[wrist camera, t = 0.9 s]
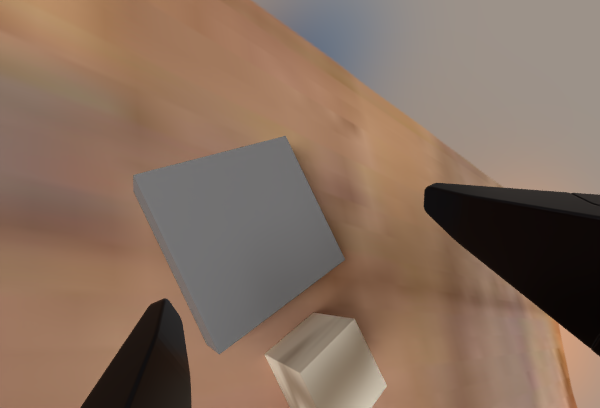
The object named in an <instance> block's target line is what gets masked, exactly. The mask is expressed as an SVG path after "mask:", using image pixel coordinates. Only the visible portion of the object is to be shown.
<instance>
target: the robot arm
mask: <svg viewBox="0 0 600 408" xmlns="http://www.w3.org/2000/svg"><path fill="white" fill-rule="evenodd" d="M424 209H425V211H426V213H427V214H428V215H429V216H430V217H431V218H432V219H434V220H435V221H436V222H437V223H438V224H439V225H440V226H441V227H442V228H443V229H444V230H445V231H446V232H447V233H448V234H449V235H450V236H451V237H452V238H453V239H454V240H456V241H457V242H458V243H459V244H460V245H461V246H463V247H464V248H465V249H466V250H468V251H469V252H470V253H471V254H473V255H474V256H475V257H476V258H478V259H479V260H480V261H481V262H483V263H484V264H485V265H486V266H488V267H489V268H490V269H491V270H493V271H494V272H495V273H496V274H498V275H499V276H500V277H501V278H503V279H504V280H505V281H506V282H508V283H509V284H510V285H511V286H513V287H514V288H515V289H516V290H518V291H519V292H520V293H521V294H523V295H524V296H525V297H526V298H528V299H529V300H530V301H532V302H533V303H534V304H535V305H537V306H538V307H539V308H540V309H542V310H543V311H544V312H545V313H547V314H548V315H549V316H550V317H552V318H553V319H554V320H555V321H557V322H558V323H559V324H560V325H562V326H563V327H564V328H565V329H567V330H568V331H569V332H570V333H572V334H573V335H574V336H576V337H577V338H578V339H579V340H580V341H582V342H583V343H584V344H585V345H587V346H588V347H589V348H591V349H592V350H593V351H594V352H595V353H596V354H597V355H599V356H600V195H594V194H581V193H571V194H570V193H567V192H553V191H539V190H526V189H513V188H499V187H486V186H472V185H459V184H446V183H435V184H432V185H430V186H428V187H426V189H425V193H424ZM81 408H191V382H190V371H189V364H188V357H187V351H186V344H185V337H184V331H183V324H182V320H181V318H180V316H179V314H178V313H177V311H176V310H175V309H174V307H173V306H172V304H171V303H170V301H169V300H168V299H162V300H159V301H157V302H155V303H152V304H151V305H150V306H149V307H148V308H147V310H146V311H145V313H144V314H143V316H142V317H141V319H140V320H139V322H138V323H137V325H136V326H135V328H134V329H133V330H132V332H131V333H130V335H129V336H128V338H127V339H126V341H125V342H124V344H123V345H122V347H121V348H120V350H119V351H118V353H117V354H116V356H115V357H114V359H113V360H112V362H111V363H110V365H109V366H108V368H107V369H106V370H105V372H104V373H103V375H102V376H101V378H100V379H99V381H98V382H97V384H96V385H95V387H94V388H93V390H92V391H91V393H90V394H89V396H88V397H87V399H86V400H85V402H84V403H83V405H82V406H81Z"/></svg>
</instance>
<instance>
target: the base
mask: <svg viewBox="0 0 600 408" xmlns="http://www.w3.org/2000/svg"><path fill="white" fill-rule="evenodd" d="M133 185H134V193H135V195H136V197H137V199H138V201H139V204H140V206H141V208H142V210H143V212H144V214H145V216H146V218H147V220H148V222H149V224H150V227H151V229H152V231H153V233H154V235H155V237H156V239H157V241H158V243H159V245H160V247H161V250H162V252H163V254H164V256H165V258H166V260H167V262H168V264H169V266H170V268H171V270H172V273H173V275H174V277H175V279H176V281H177V283H178V285H179V287H180V289H181V291H182V293H183V296H184V298H185V300H186V302H187V304H188V306H189V308H190V310H191V312H192V314H193V316H194V319H195V321H196V323H197V325H198V327H199V329H200V331H201V333H202V335H203V337H204V339H205V342H206V344H207V345H208V346H210V347H211V348H212V349H213V350H214V351H216V352H217V353H218V354H220V353H222V352H223V351H224V350H226V349H227V348H228V347H230V346H231V345H232V344H234V343H235V342H236V341H238V340H239V339H240V338H242V337H243V336H244V335H246V334H247V333H248V332H250V331H251V330H252V329H254V328H255V327H256V326H258V325H259V324H260V323H262V322H263V321H264V320H266V319H267V318H268V317H270V316H271V315H272V314H274V313H275V312H276V311H278V310H279V309H280V308H282V307H283V306H284V305H286V304H287V303H288V302H290V301H291V300H292V299H294V298H295V297H296V296H298V295H299V294H300V293H302V292H303V291H304V290H305V289H307V288H308V287H309V286H311V285H312V284H313V283H315V282H316V281H317V280H319V279H320V278H321V277H323V276H324V275H325V274H327V273H328V272H329V271H331V270H332V269H333V268H335V267H336V266H337V265H339V264H340V263H341V262H343V261H344V260H345V258H344V256H343V254H342V252H341V250H340V248H339V246H338V244H337V242H336V240H335V238H334V236H333V233H332V231H331V229H330V227H329V225H328V223H327V221H326V219H325V217H324V215H323V213H322V211H321V209H320V206H319V204H318V202H317V200H316V198H315V196H314V194H313V192H312V190H311V188H310V186H309V184H308V181H307V179H306V177H305V175H304V173H303V171H302V169H301V167H300V165H299V163H298V161H297V159H296V157H295V154H294V152H293V150H292V148H291V146H290V144H289V142H288V140H287V138H286V136H283V137H280V138H276V139H272V140H268V141H264V142H260V143H256V144H252V145H249V146H245V147H241V148H237V149H233V150H229V151H225V152H221V153H217V154H214V155H210V156H206V157H202V158H198V159H194V160H190V161H186V162H183V163H179V164H175V165H171V166H167V167H163V168H159V169H155V170H151V171H148V172H144V173H140V174H136V175H133Z"/></svg>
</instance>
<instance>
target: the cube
mask: <svg viewBox="0 0 600 408" xmlns="http://www.w3.org/2000/svg"><path fill="white" fill-rule="evenodd" d="M265 357H266V359H267V361H268V363H269V365H270V367H271V369H272V371H273V373H274V375H275V377H276V380H277V382H278V384H279V386H280V388H281V390H282V392H283V394H284V396H285V398H286V400H287V402H288V405H289V407H290V408H372V406H373V405H374V403H375V402H376V401H377V399H378V398H379V396H380V395H381V394H382V392H383V391H384V389H385V388H386V387H387V385H386V383H385V381H384V379H383V377H382V375H381V373H380V370H379V368H378V366H377V364H376V362H375V360H374V358H373V356H372V354H371V352H370V350H369V348H368V345H367V343H366V341H365V339H364V337H363V335H362V333H361V331H360V329H359V327H358V325H357V323H356V321H355V319H353V318H346V317H340V316H333V315H327V314H320V313H314V312H313V313H312V314H311V315H310V316H309V317H307V318H306V319H305V320H304V321H303V322H302V323H300V324H299V325H298V326H297V327H296V328H294V329H293V330H292V331H291V332H290V333H289V334H287V335H286V336H285V337H284V338H283V339H281V340H280V341H279V342H278V343H277V344H276V345H274V346H273V347H272V348H271V349H270V350H268V351H267V352H266V353H265Z"/></svg>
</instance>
